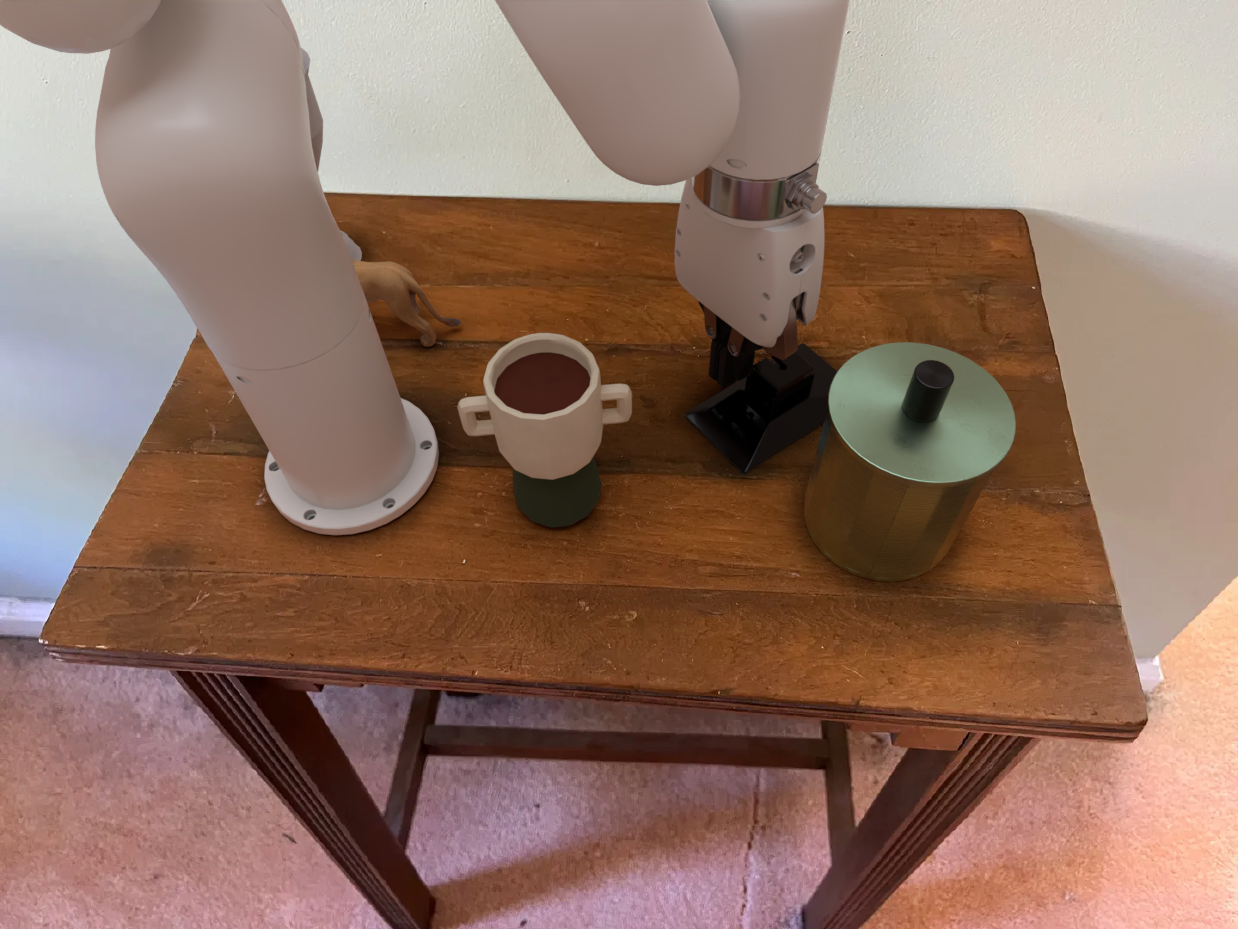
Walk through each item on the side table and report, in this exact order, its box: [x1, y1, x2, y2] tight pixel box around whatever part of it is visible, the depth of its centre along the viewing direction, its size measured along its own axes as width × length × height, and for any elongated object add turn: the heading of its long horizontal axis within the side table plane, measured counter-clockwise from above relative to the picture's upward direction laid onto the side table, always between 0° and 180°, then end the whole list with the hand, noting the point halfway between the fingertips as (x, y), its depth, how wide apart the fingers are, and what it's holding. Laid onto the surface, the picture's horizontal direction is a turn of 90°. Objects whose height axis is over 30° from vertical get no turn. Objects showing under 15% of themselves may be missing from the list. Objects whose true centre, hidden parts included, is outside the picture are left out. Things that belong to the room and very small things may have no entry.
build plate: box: [684, 343, 838, 475], centre depth 65 cm, size 12×7×5 cm, turn 126°
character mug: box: [457, 332, 633, 529], centre depth 57 cm, size 11×7×13 cm, turn 96°
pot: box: [803, 410, 994, 583], centre depth 56 cm, size 10×10×12 cm
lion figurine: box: [352, 260, 462, 348], centre depth 70 cm, size 15×5×9 cm, turn 88°
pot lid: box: [827, 341, 1017, 487], centre depth 50 cm, size 11×11×4 cm
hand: (730, 373), depth 67 cm, fingers closed
